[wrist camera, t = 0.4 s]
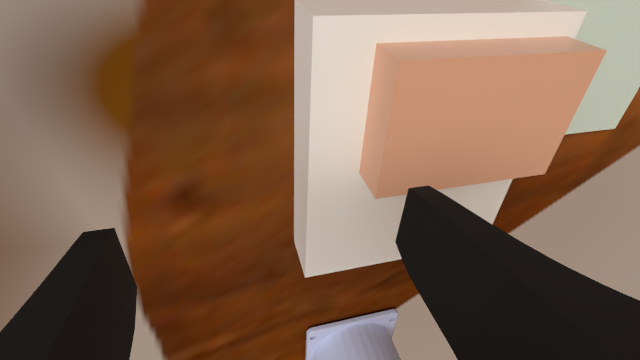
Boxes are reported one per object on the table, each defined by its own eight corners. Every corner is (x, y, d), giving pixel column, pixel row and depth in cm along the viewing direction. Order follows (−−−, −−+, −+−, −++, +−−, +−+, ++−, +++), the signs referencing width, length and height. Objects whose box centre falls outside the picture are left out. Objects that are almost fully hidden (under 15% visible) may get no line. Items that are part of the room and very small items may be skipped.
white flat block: (458, 213, 26) (484, 242, 24) (293, 240, 23) (304, 277, 21) (535, -3, 18) (587, 11, 15) (294, -2, 15) (313, 15, 13)
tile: (516, 152, 19) (544, 173, 18) (359, 172, 17) (375, 199, 16) (567, 36, 16) (606, 50, 14) (376, 43, 14) (399, 60, 12)
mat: (609, 125, 25) (615, 128, 25) (484, 140, 23) (488, 143, 22) (736, -94, 18) (746, -94, 17) (573, -107, 15) (581, -108, 15)
